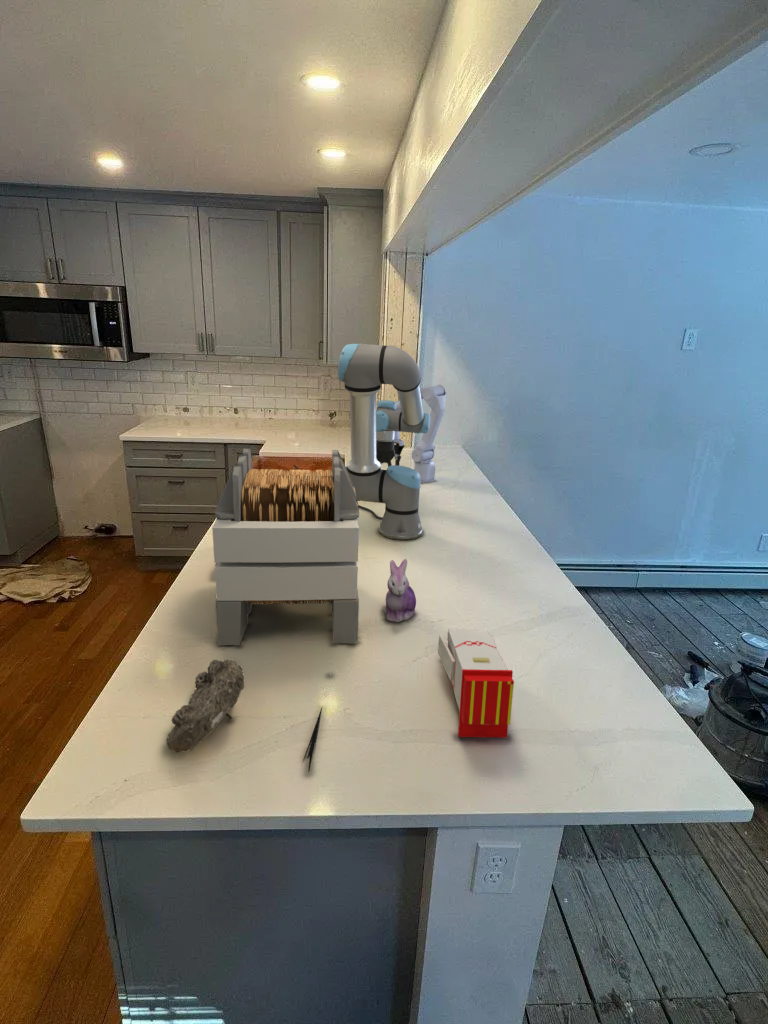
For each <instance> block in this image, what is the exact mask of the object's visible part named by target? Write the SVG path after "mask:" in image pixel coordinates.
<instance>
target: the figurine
mask: <svg viewBox="0 0 768 1024" xmlns="http://www.w3.org/2000/svg"><path fill="white" fill-rule="evenodd" d="M407 567H408V559H406V558H404V559H403V560H402V561H401V563H400V565H399V566H398V565H397V563H396V562H395V561H394V560H393V559H391V560H390V561H389V570H390V576H389V578H388V579H387V589H388V591H387V592H386V594H385V595H386V596H385V607H384V615H385V616H386V620H387V621H391V622H395V623H400V622H402V621H406V620H409V619H410V618H411V617H413V616H414V615H415V610H416V606H417V597H416V593H415V591H414V590H413V587H411V586H410V582H409V579H408V577H407V574H406V571H407Z"/></svg>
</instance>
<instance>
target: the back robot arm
mask: <svg viewBox="0 0 768 1024" xmlns="http://www.w3.org/2000/svg"><path fill="white" fill-rule="evenodd" d="M420 394H421V400H424V401H425V403H426V404H427V406H428V407H429V408H430V409H431V411H430V412H429V415H430V428H429V431H428V433H422V436H421V440H420V441H419V442H418V443H416V445H415V447H414V449H413V450H412V452H411V458H412V460H413V463H414V468H413V469H414V470H415V471H417V472H418V473H419V475H420V484H423V483H430V482H431V483H432V482H436V479H435V477H436V463H435V462H434V461H433V458H434V457H435V449H436V445H434V442H435V439H436V436H437V433H438V430H439V428H440V424H441V422H442V420H443V416H444V413H445V411H446V398H447V396H448V393H447V391H446V388H445V387H444V386H443V385H442V384H438V385H425V386H424V387H421V388H420ZM394 402H395V403H396V410H397V411H402V410H401V406H400V402H399V400H396V401H394ZM400 433H401V432H399V431H395V439H394V440H393V441H394V452H395V454H397V455H398V454H399V455H400V456H401V454H402V451H403V450H404V448H405V441H404V440H402V439H401V438H400Z"/></svg>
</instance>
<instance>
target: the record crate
mask: <svg viewBox="0 0 768 1024" xmlns="http://www.w3.org/2000/svg"><path fill="white" fill-rule="evenodd" d="M331 454H332V455H331V458H332V459H331V469H325V470H324V469H315V470H311V469H300V470H297V469H289V470H283V469H281V468H280V469H278V468H277V469H273V468H271V469H269V468H266V469H265V468H260V469H259V468H258V469H257V468H252V466H253V465H252V452H251V448H243V449H242V451H241V453H240V455H239V457H238V460H237V462H236V464H235V465H234V466H233V468H232V470H231V473H230V475H229V477H228V479H227V482H226V484H225V486H224V488H223V491H222V492H221V495H220V497H219V499H218V501H217V504H216V506H215V509H214V517H215V518H216V520H214V523H213V525H212V543H213V544H212V545H213V561H214V563H215V564H216V562H217V564H216V567H215V566H214V574H215V591H216V599H215V604H214V605H215V619H216V620H215V621H216V629H217V641H218V642H217V646H219V647H220V646H221V647H225V646H240V644H241V643H242V640H243V637H244V634H245V632H246V629H247V627H248V624H249V615H251V611H252V606H253V605H272V604H273V605H278V604H279V605H281V604H282V605H290V604H292V605H297V604H299V605H300V604H309V605H310V604H315V605H316V604H331V623H332V624H331V626H332V644H351V645H355V644H356V643H357V642H359V607H360V605H359V603H360V598H359V591H358V575H359V574H358V571H359V566H358V562H359V538H360V537H359V535H360V526H359V521H358V518H359V517H360V508H359V507H358V505H359V503H358V502H359V501H357V497H356V492H355V486H354V484H353V482H352V480H351V478H350V475H349V473H348V471H347V469H346V464H345V462H344V460H343V458H342V455H341V454H340V451H339V450H338V449H332V453H331Z"/></svg>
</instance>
